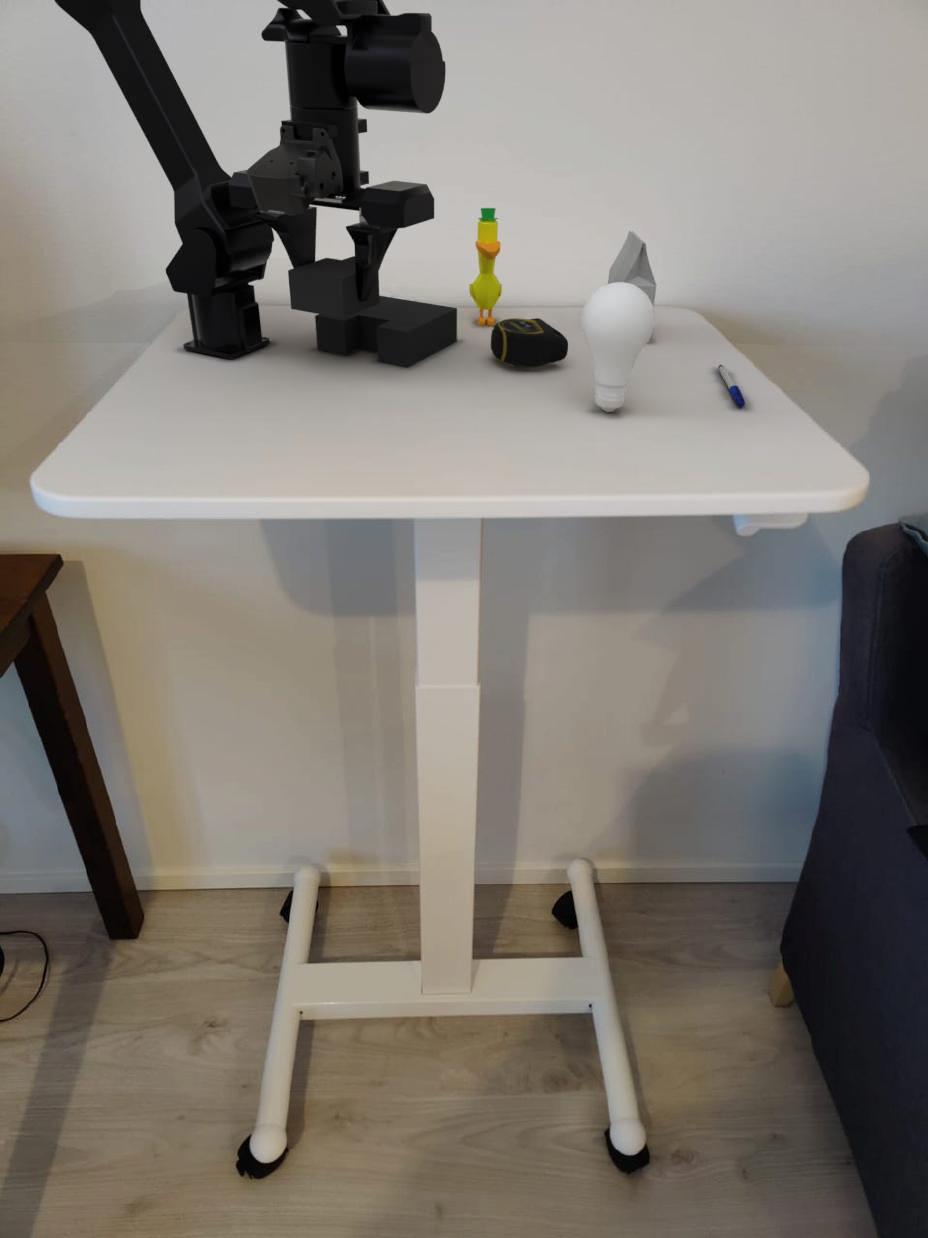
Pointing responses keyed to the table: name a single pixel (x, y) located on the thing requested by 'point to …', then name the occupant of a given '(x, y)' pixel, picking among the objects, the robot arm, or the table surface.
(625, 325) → the lightbulb
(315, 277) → the pad
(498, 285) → the toy figure
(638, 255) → the grey faceted shape
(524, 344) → the tape measure
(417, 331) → the notch pad
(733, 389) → the blue marker pen
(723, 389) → the table surface
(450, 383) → the table surface
